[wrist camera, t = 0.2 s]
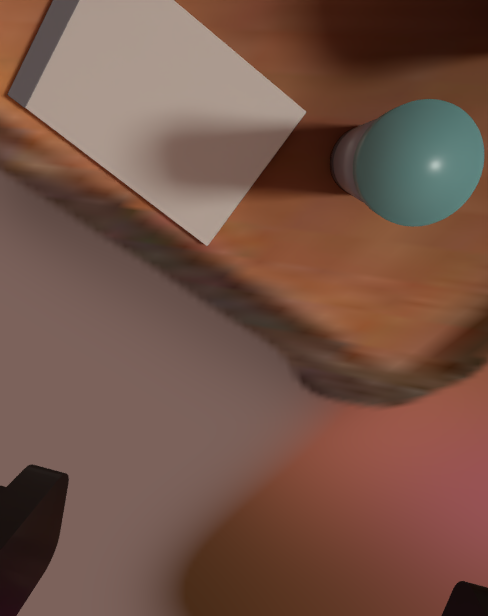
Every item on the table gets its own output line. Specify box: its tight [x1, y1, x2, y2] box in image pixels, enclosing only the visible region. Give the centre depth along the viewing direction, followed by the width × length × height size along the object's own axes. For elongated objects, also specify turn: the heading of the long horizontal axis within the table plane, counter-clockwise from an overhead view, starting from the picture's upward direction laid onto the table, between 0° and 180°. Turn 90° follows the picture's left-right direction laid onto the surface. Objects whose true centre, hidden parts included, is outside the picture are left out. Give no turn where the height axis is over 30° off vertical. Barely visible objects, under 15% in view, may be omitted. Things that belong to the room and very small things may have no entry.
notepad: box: [7, 0, 306, 246], centre depth 26 cm, size 10×15×1 cm, turn 53°
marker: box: [330, 99, 484, 226], centre depth 21 cm, size 4×4×12 cm
